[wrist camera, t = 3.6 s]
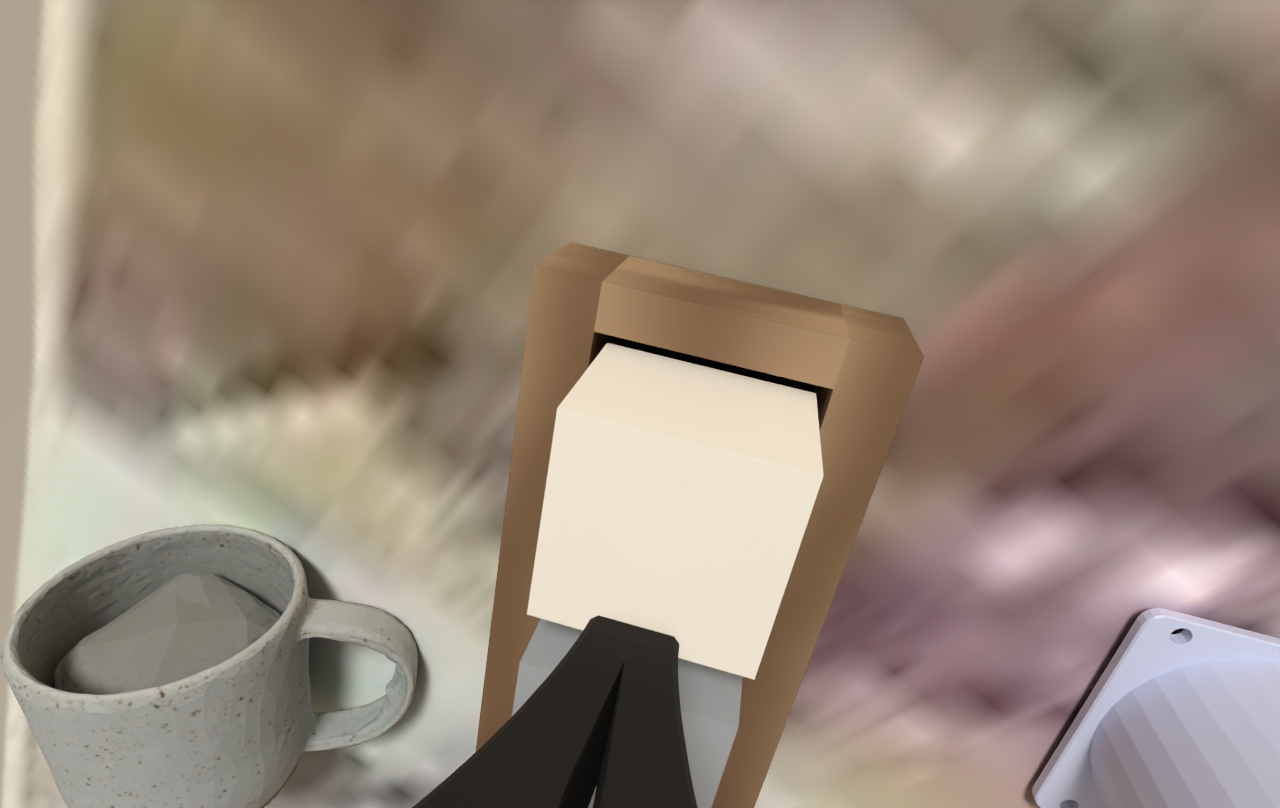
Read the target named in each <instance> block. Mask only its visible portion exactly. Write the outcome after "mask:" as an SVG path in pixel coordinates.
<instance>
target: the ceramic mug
mask: <svg viewBox="0 0 1280 808" xmlns="http://www.w3.org/2000/svg"><path fill="white" fill-rule="evenodd" d="M312 637H321V638H327V639H332V640H337V641H342V642H349V643H354V644H358V645H362V646H366V647H369V648H371V649H374V650H376V651H378V652H380V653H382V654H385V655H386V657H387V658H388V659H389V660H391V661H393V662H394V663H396V669H395V673H394V676H393V679H392V680H391V681H390V682H389V683H388V684H387V686H386V695H385V696H383V697H381V698H380V699H378V700H376V701H374V702H372V703H370V704H367V705H364V706H359V707H356V708H354V709H349V710H340V711H334V712H324V713H313V712H311V686H310V679H309V638H312ZM1 661H2V665H3V669H4V673H5V677H6V679H7V681H8V683H9V685H10V687H11V689H12V691H13V693H14V695H15V697H16V699H17V701H18V703H19V705H20V707H21V709H22V711H23V713H24V715H25V716H26V719H27V721H28V723H29V725H30V728H31V730H32V732H33V734H34V737H35V739H36V741H37V743H38V745H39V747H40V749H41V751H42V753H43V755H44V757H45V759H46V761H47V763H48V765H49V767H50V770H51V772H52V775H53V777H54V780H55V782H56V785H57V787H58V790H59V792H60V794H61V796H62V798H63V800H64V802H65V803H66V805H67V807H68V808H264V807H265V806H266V805H267V804H268V803H270V801H271V800H272V799H273V798H274V797H275V796H276V795H277V794H278V793H279V792H280V790H281V789H282V788H283V787H284V785H285V784H286V783H287V781H288V780H289V778H290V776H291V775H292V773H293V771H294V770H295V768H296V765H297V763H298V761H299V758H300V756H301V755H302V754H303V753H304V752H307V751H321V750H331V749H337V748H344V747H350V746H353V745H356V744H359V743H362V742H366V741H369V740H373V739H374V738H376V737H378V736H380V735H381V734H383V733H384V732H386V731H387V730H389V729H390V728H391V727H393V726H394V725H395V724H396V723H397V722H398V721H399V720H400V719H401V718H402V717H403V715H404V714H405V712H406V711H407V709H408V707H409V706H410V704H411V701H412V698H413V695H414V692H415V686H416V677H417V666H418V653H417V647H416V642H415V641H414V639H413V637H412V635H411V633H410V632H409V630H408V629H407V628H406V627H405V626H404V625H403V624H402V623H400V622H399V621H398V620H397V619H396V618H394V617H393V616H391V615H389V614H387V613H385V612H383V611H381V610H380V609H378V608H374V607H371V606H367V605H362V604H356V603H350V602H344V601H338V600H326V599H314V598H310V597H309V596H308V588H307V580H306V574H305V571H304V568H303V566H302V563H301V562H300V560H299V559H298V557H297V556H296V555H295V553H294V552H293V551H292V550H291V549H290V548H289V547H288V546H286V545H284V544H283V543H281V542H279V541H278V540H276V539H275V538H273V537H271V536H268V535H266V534H263V533H260V532H258V531H255V530H251V529H246V528H241V527H234V526H229V525H191V526H184V527H176V528H167V529H162V530H157V531H153V532H148V533H145V534H141V535H138V536H135V537H132V538H129V539H126V540H124V541H121V542H118V543H116V544H113V545H110V546H108V547H105V548H103V549H101V550H99V551H97V552H95V553H93V554H91V555H89V556H87V557H85V558H83V559H81V560H79V561H78V562H76V563H74V564H72V565H70V566H69V567H67V568H65V569H64V570H62V571H60V572H59V573H58V574H57V575H55V576H54V577H53V578H52V579H50V580H49V581H48V582H46V583H45V584H44V585H43V586H42V587H41V588H39V589H38V590H37V591H36V592H35V593H34V594H33V595H32V596H31V597H30V598H29V599H28V600H27V601H26V602H25V603H24V604H23V605H22V606H21V608H20V609H19V610H18V612H17V613H16V615H15V616H14V618H13V620H12V622H11V624H10V626H9V628H8V631H7V633H6V636H5V639H4V641H3V646H2V651H1Z"/></svg>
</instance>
